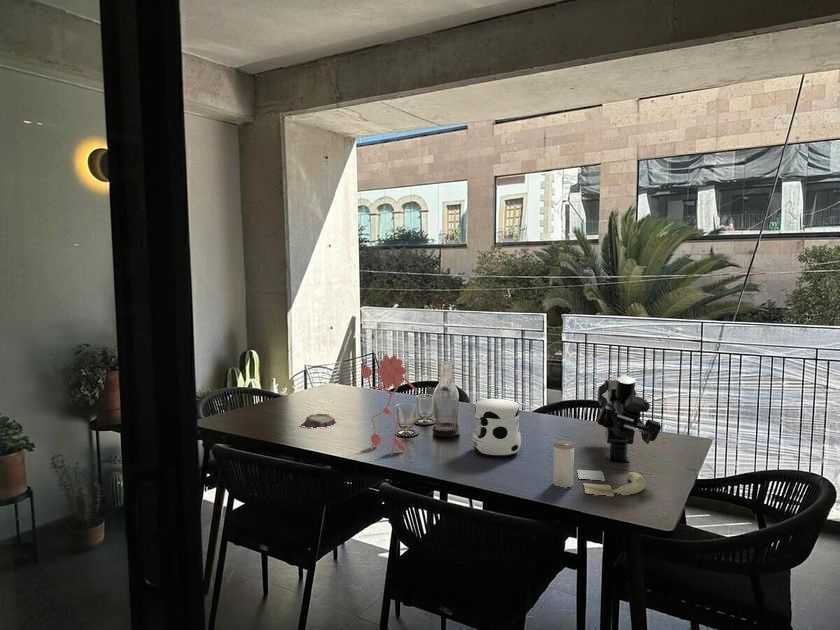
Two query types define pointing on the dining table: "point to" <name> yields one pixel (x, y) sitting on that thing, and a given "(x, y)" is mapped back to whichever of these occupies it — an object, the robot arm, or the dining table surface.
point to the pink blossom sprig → (389, 375)
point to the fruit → (632, 485)
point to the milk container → (496, 428)
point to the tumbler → (563, 463)
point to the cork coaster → (598, 489)
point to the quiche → (319, 421)
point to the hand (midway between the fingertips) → (633, 438)
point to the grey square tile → (590, 475)
